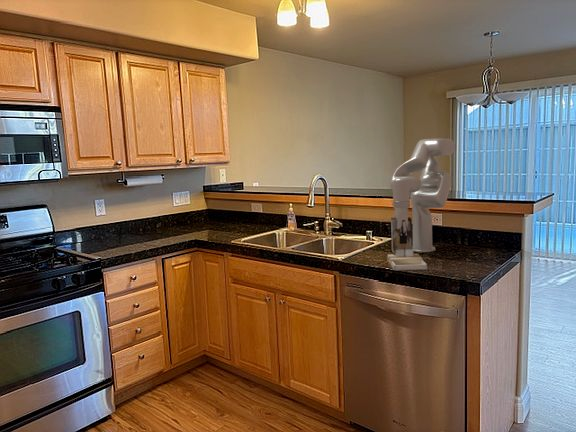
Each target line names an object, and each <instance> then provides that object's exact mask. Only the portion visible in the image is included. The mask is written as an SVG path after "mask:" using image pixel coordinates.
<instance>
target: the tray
mask: <svg viewBox="0 0 576 432" xmlns="http://www.w3.org/2000/svg"><path fill="white" fill-rule="evenodd" d="M390 266H391V268H392V269H393V271H395V272H396V271H397V272H398V271H419V270H420V271H425V270H426V271H427V270H428V264H427V263H426V262H425V261H424V260H421V264H411V265H395V263H394V262H393V261H391V265H390Z"/></svg>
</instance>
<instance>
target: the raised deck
mask: <svg viewBox="0 0 576 432" xmlns="http://www.w3.org/2000/svg"><path fill="white" fill-rule="evenodd" d="M423 259H424V258H423V257H422V256H421V255H420V254H419V252H416V253H413V257H405V256H404V257H396V256H395V253H391V254H389V253H388V254H387V263H388V264H389V265H390V266H391V261H393V262H394V263H395V265H411V264H421V260H423ZM423 261H424V260H423Z"/></svg>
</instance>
